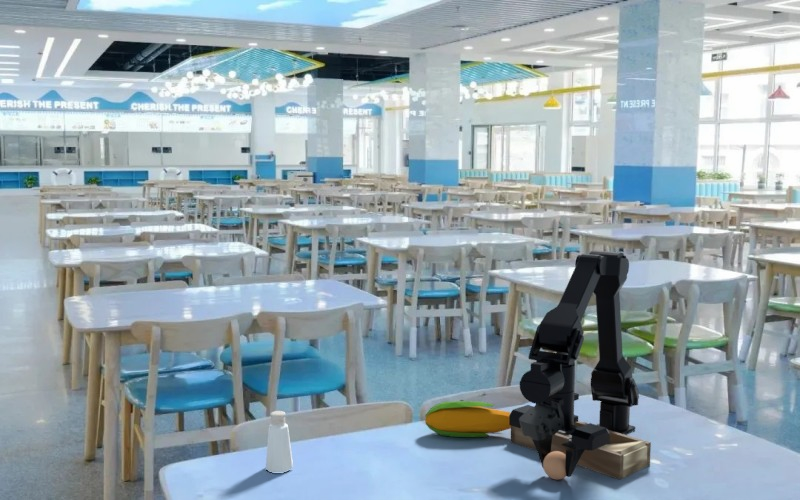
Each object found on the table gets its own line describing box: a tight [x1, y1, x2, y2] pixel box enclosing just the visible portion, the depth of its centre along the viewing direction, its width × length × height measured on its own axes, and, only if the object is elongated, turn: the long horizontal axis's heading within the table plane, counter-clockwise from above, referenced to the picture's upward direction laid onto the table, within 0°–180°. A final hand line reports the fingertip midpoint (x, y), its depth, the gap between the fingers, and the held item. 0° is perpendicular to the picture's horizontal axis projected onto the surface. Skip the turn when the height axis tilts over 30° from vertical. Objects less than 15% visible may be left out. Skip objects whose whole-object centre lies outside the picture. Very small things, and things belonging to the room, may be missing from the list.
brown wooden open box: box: [510, 420, 652, 480], centre depth 162 cm, size 10×26×5 cm, turn 41°
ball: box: [542, 451, 567, 481], centre depth 150 cm, size 5×5×5 cm
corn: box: [424, 400, 511, 438], centre depth 172 cm, size 7×8×20 cm
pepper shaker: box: [265, 410, 294, 472], centre depth 155 cm, size 5×5×11 cm
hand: (556, 471), depth 150 cm, fingers closed on ball, 5 cm apart
